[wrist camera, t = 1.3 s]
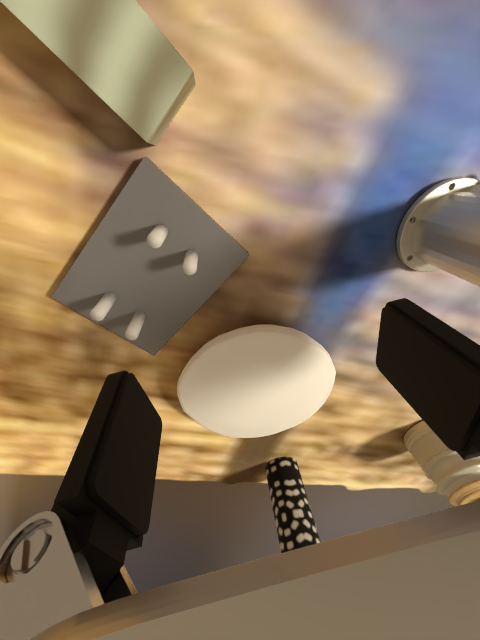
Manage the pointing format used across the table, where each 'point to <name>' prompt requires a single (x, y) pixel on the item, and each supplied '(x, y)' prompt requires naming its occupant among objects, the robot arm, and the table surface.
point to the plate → (256, 381)
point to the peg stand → (150, 262)
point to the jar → (444, 465)
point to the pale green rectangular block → (114, 56)
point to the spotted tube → (290, 505)
